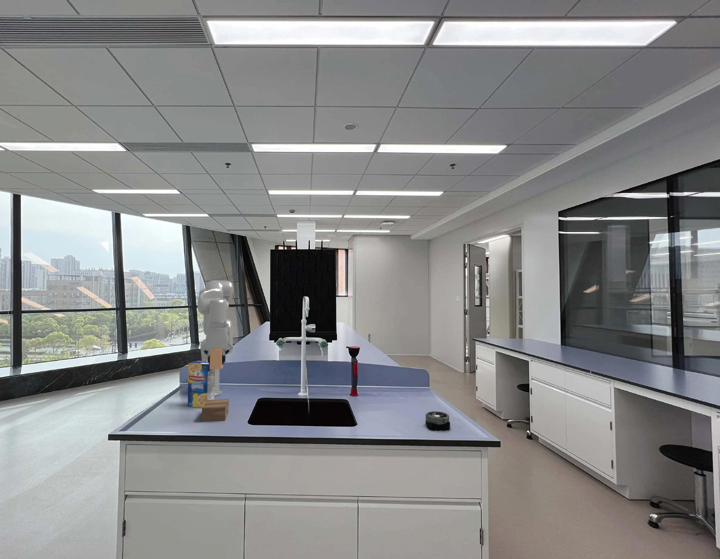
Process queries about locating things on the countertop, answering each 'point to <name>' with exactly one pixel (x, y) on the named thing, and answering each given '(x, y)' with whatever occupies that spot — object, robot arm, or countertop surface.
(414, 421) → the countertop surface
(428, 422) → the cpu cooler
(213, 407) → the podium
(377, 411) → the countertop surface
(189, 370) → the blue tall cardboard box
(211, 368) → the carton
